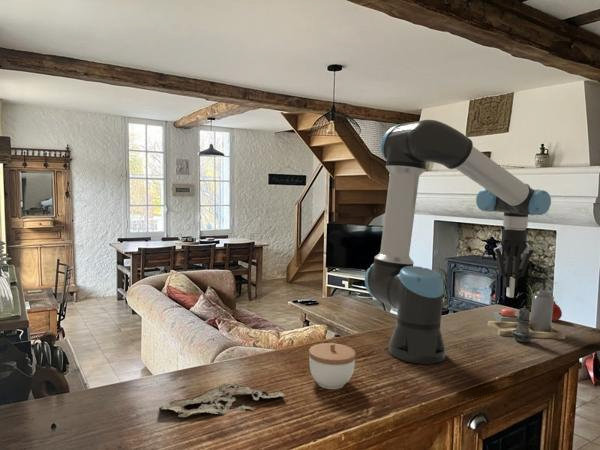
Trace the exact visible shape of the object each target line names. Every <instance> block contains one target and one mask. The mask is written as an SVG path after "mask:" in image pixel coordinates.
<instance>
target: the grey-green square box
mask: <svg viewBox="0 0 600 450" xmlns="http://www.w3.org/2000/svg"><path fill="white" fill-rule="evenodd" d="M518 318H519V314H516V313H515V318H514V317H503V316H501V311H493V319H494V320H496V321H501V322H518V320H517V319H518Z"/></svg>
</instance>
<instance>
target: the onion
mask: <svg viewBox="0 0 600 450" xmlns="http://www.w3.org/2000/svg"><path fill="white" fill-rule="evenodd" d="M562 315H563V312H562V309H561V308H560V306H559V305H558V304H557V303H556V301H555V300H554V302H553V313H552V322H557V321H558V320H560V319H561V317H562Z"/></svg>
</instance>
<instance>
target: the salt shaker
mask: <svg viewBox="0 0 600 450" xmlns="http://www.w3.org/2000/svg"><path fill="white" fill-rule="evenodd" d="M518 311H519V312H518V316H519V318H518V319H517V320H518V326H517V329H516V330H512V333H513V336H512V338H514V340H516V341H517V342H519V343H520V342H521V343H528V342H530V341H531V340H532V338H533V337H532V336H533V333H531V332H530V331H529V323H530V315H531V312H530V311H531V310H529V309H528V308H527V306H526V305H523V308H519V309H518Z"/></svg>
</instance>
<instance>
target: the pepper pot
mask: <svg viewBox="0 0 600 450" xmlns="http://www.w3.org/2000/svg"><path fill="white" fill-rule="evenodd" d="M554 301H555V297H554V296H553V295H552V294H551V293H550V292H549V291H548V290H544V289H541V290H537V291H536V292H535V293H532V299H531V309H530V311H531V312H530V319H529V321H530V322H529V323H530V329H531V330H532V331H537V332H551V325H552V322H553V321H552V313H553V302H554Z"/></svg>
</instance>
